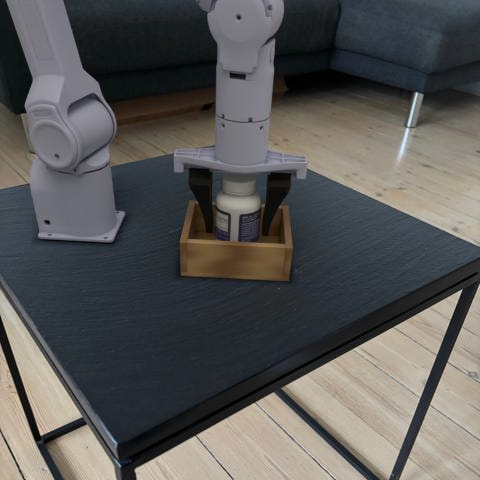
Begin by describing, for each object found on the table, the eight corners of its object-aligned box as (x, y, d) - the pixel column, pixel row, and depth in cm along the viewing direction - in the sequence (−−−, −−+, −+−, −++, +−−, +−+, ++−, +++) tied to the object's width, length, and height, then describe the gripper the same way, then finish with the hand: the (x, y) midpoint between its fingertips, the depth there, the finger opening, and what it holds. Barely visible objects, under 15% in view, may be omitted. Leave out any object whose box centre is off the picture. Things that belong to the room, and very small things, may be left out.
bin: (180, 275, 60) (179, 241, 57) (189, 231, 68) (189, 200, 65) (288, 281, 60) (293, 248, 57) (284, 236, 68) (288, 205, 65)
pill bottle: (259, 242, 66) (265, 168, 60) (256, 265, 62) (262, 188, 55) (217, 238, 66) (219, 164, 60) (211, 260, 62) (212, 183, 56)
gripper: (309, 106, 57) (295, 218, 65) (177, 99, 57) (180, 212, 65) (315, 127, 51) (299, 246, 60) (169, 119, 51) (173, 239, 59)
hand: (237, 230), depth 62 cm, fingers open, 6 cm apart
